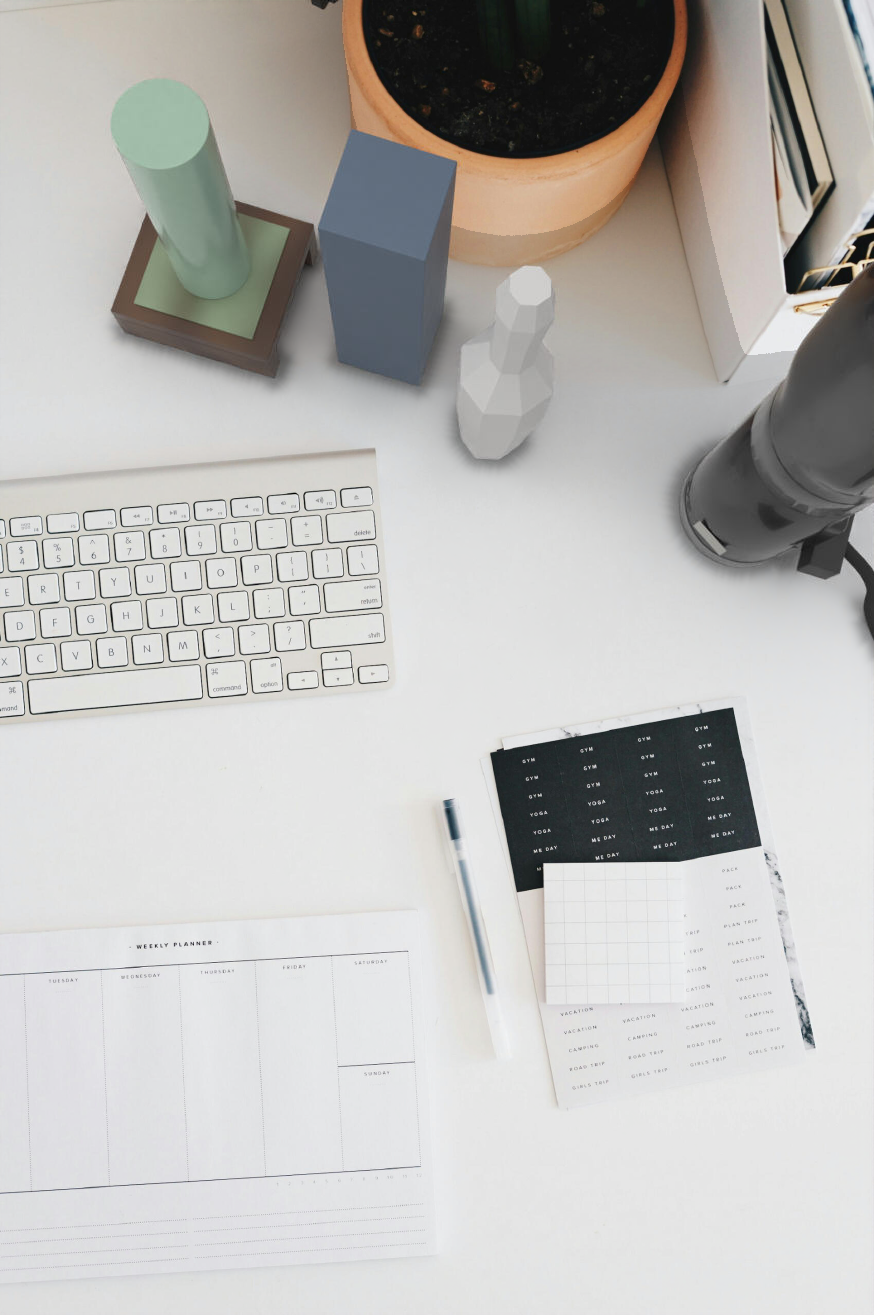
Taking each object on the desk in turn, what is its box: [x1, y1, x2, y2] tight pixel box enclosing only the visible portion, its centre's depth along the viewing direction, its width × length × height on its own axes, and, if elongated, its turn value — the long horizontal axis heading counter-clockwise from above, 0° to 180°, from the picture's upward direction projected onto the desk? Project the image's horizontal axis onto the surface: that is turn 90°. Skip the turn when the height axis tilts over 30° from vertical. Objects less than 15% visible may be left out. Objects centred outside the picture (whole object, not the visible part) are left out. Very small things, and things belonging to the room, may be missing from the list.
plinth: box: [317, 128, 458, 387], centre depth 62 cm, size 6×6×18 cm
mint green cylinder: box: [110, 77, 251, 299], centre depth 60 cm, size 6×6×15 cm
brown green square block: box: [110, 199, 319, 379], centre depth 69 cm, size 12×11×4 cm
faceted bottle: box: [455, 265, 556, 461], centre depth 60 cm, size 6×6×22 cm
